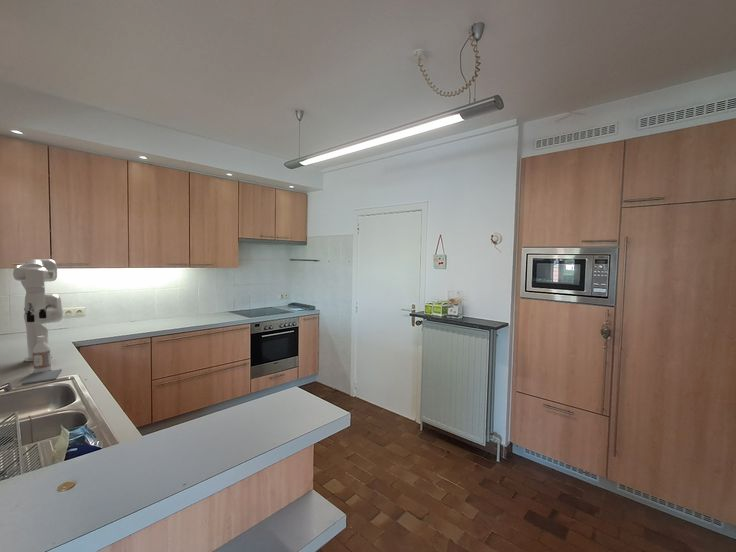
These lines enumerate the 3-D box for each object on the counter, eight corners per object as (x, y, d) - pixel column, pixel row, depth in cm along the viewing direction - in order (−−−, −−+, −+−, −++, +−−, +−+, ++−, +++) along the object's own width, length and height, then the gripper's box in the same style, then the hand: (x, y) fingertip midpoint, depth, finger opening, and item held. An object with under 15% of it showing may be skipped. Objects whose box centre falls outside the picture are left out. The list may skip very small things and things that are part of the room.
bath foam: (30, 373, 184) (28, 337, 183) (39, 369, 191) (38, 335, 190) (45, 372, 186) (43, 337, 184) (54, 368, 192) (52, 334, 191)
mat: (30, 374, 182) (30, 373, 182) (61, 370, 189) (61, 369, 189) (21, 384, 168) (21, 383, 168) (55, 379, 175) (55, 378, 175)
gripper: (38, 288, 196) (39, 317, 197) (15, 292, 179) (17, 323, 181) (53, 288, 198) (54, 316, 199) (32, 292, 181) (34, 323, 183)
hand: (36, 320), depth 190 cm, fingers open, 9 cm apart
